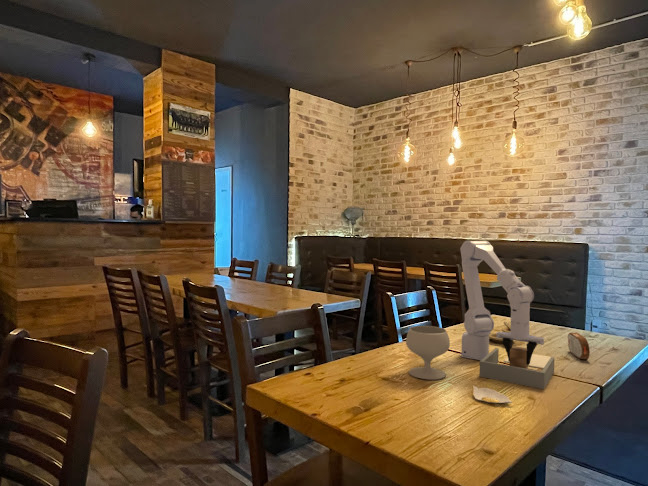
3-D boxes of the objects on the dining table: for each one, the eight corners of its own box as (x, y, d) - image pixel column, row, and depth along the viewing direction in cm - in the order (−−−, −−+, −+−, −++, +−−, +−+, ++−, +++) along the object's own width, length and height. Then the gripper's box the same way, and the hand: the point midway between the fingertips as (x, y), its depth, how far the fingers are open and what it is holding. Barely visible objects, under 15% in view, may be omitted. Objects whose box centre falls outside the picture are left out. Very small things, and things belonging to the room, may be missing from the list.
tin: (590, 362, 155) (590, 339, 155) (580, 361, 156) (581, 339, 156) (574, 351, 170) (575, 330, 170) (566, 350, 171) (566, 329, 170)
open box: (479, 376, 139) (479, 361, 139) (495, 361, 155) (495, 348, 155) (544, 389, 128) (544, 372, 128) (554, 371, 144) (554, 357, 144)
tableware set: (518, 352, 171) (518, 337, 171) (471, 342, 184) (471, 329, 184) (542, 338, 192) (542, 325, 192) (498, 331, 206) (498, 319, 206)
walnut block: (509, 366, 143) (509, 349, 143) (512, 363, 147) (513, 346, 147) (525, 369, 140) (526, 351, 140) (528, 366, 144) (529, 348, 144)
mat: (503, 361, 155) (503, 360, 155) (513, 352, 168) (513, 351, 168) (546, 369, 147) (546, 368, 147) (553, 358, 160) (553, 357, 160)
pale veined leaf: (478, 389, 127) (479, 381, 126) (518, 404, 118) (519, 396, 117) (464, 397, 122) (464, 389, 121) (505, 414, 113) (505, 405, 112)
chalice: (402, 378, 137) (403, 332, 136) (409, 365, 150) (409, 323, 149) (447, 384, 132) (448, 336, 131) (450, 370, 145) (451, 326, 144)
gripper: (494, 321, 144) (493, 361, 145) (541, 327, 136) (540, 369, 136) (499, 318, 150) (498, 356, 150) (545, 323, 141) (544, 364, 142)
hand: (519, 362), depth 144 cm, fingers closed on walnut block, 5 cm apart
